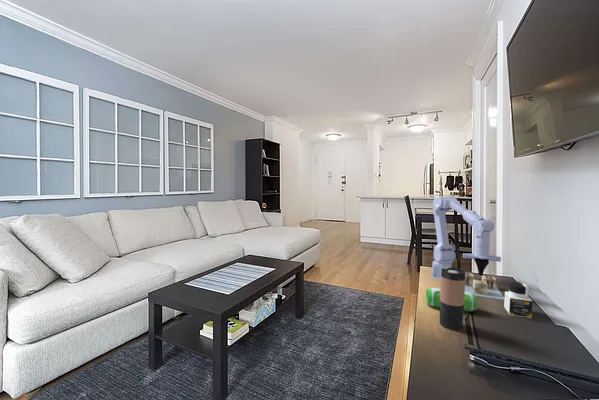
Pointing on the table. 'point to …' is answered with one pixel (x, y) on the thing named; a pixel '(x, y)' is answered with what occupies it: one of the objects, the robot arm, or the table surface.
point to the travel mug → (452, 298)
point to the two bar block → (490, 282)
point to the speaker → (434, 299)
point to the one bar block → (469, 279)
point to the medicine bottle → (518, 300)
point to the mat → (490, 293)
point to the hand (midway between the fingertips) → (480, 274)
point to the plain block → (480, 287)
